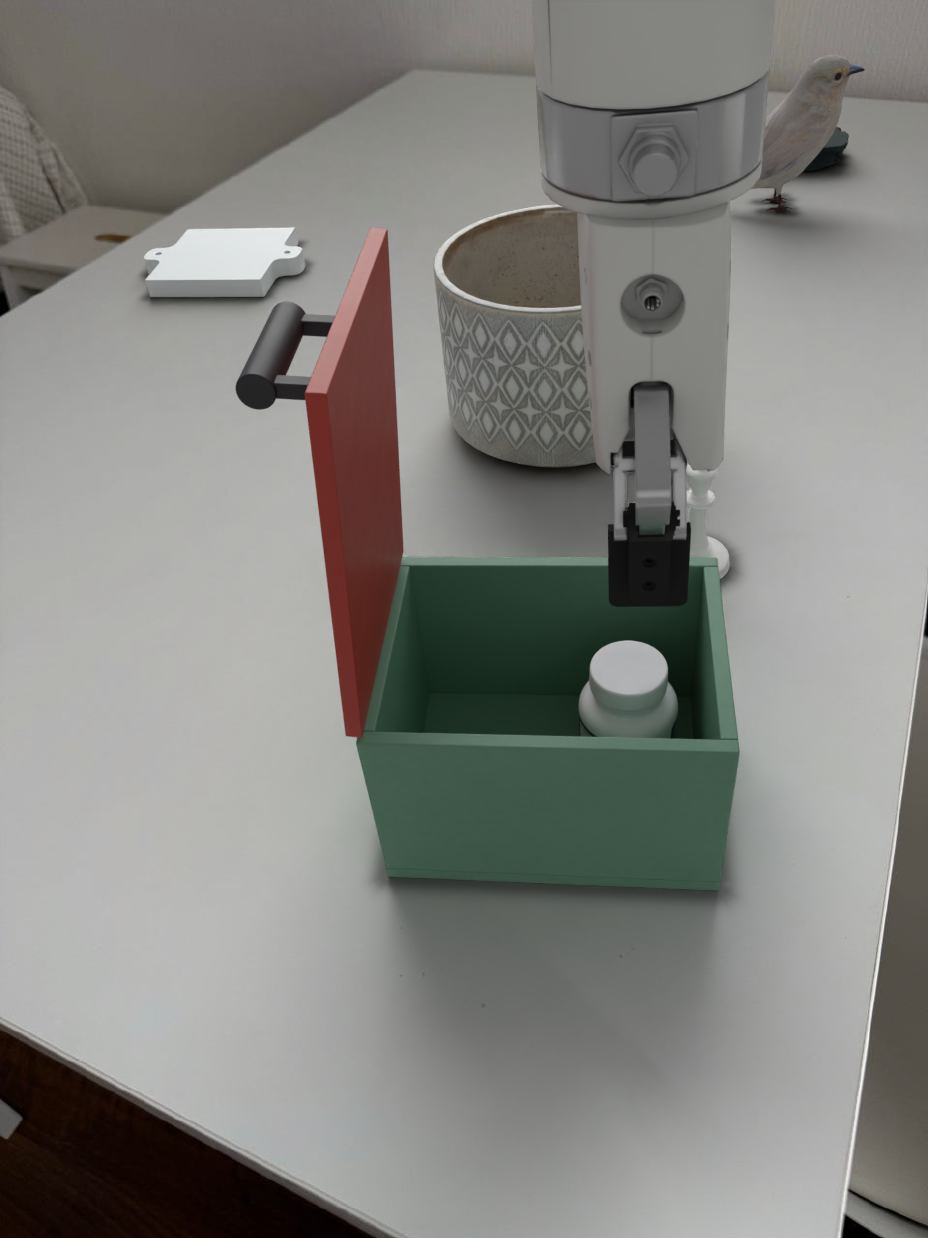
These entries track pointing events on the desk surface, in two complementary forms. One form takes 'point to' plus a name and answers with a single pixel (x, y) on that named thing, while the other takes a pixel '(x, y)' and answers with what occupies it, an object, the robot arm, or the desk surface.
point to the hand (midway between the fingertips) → (644, 528)
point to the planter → (516, 337)
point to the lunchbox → (544, 730)
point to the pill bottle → (628, 694)
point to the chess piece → (703, 518)
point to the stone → (830, 151)
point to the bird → (803, 123)
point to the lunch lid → (347, 456)
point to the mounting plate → (223, 262)
